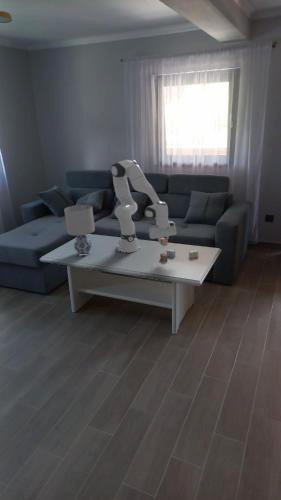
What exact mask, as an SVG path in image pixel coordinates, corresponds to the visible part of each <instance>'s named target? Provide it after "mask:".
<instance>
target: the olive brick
mask: <svg viewBox="0 0 281 500" xmlns="http://www.w3.org/2000/svg"><path fill="white" fill-rule="evenodd" d="M188 257H189V258H190V259H193V258H194V257H195V258H198V257H199V251H198V250H197V249H195V250H190V251H188Z"/></svg>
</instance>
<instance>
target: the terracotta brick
mask: <svg viewBox="0 0 281 500" xmlns="http://www.w3.org/2000/svg"><path fill="white" fill-rule="evenodd" d="M160 240H161V241H162V243H159V245H161V246H163V247H166V246H168V242H167V239H166V237H161V238H160Z"/></svg>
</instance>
